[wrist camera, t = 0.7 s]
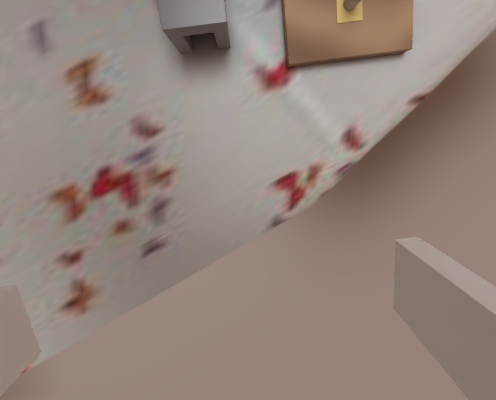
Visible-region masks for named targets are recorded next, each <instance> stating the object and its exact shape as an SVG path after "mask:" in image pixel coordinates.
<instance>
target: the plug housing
mask: <svg viewBox="0 0 496 400" xmlns="http://www.w3.org/2000/svg"><path fill="white" fill-rule="evenodd" d="M157 3H158V9H159V15H160V20H161V26H162V30H163V31H164V33H165V34H166V35H167V37H168V38H169V39H170V40H171V42H172V43H173V44H174V45H175V47H176V48H177V49H178V50H179V52H180V53H181V54H184V53H192V52H193V49H192V42H191V36H190V35H197V34H205V33H213V32H214V35H215V39H216V42H217V45H218V49H224V48H230V40H229V32H228V24H227V16H226V8H225V0H157Z"/></svg>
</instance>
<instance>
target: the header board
mask: <svg viewBox="0 0 496 400" xmlns="http://www.w3.org/2000/svg"><path fill="white" fill-rule="evenodd" d="M281 1H282V13H283V26H284V38H285V51H286V63H287V67H295V66H303V65H311V64H319V63H327V62H335V61H343V60H351V59H359V58H367V57H375V56H383V55H391V54H399V53H404V52H406V51H409V50H411V49H412V32H413V0H281Z"/></svg>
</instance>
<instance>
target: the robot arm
mask: <svg viewBox="0 0 496 400" xmlns="http://www.w3.org/2000/svg"><path fill="white" fill-rule="evenodd" d="M394 275H395V276H394V310H395V311H396V312H397V313H398V315H399V316H400V317H401V318H402V319H403V321H404V322H405V323H406V324H407V325H408V327H409V328H410V329H411V330H412V331H413V333H414V334H415V335H416V336H417V338H418V339H419V340H420V341H421V342H422V344H423V345H424V346H425V347H426V348H427V350H428V351H429V352H430V353H431V355H432V356H433V357H434V358H435V359H436V361H437V362H438V363H439V364H440V365H441V367H442V368H443V369H444V370H445V371H446V373H447V374H448V375H449V376H450V377H451V379H452V380H453V381H454V382H455V383H456V385H457V386H458V387H459V388H460V389H461V391H462V392H463V393H464V394H465V396H466V397H467V398H468V399H469V400H496V287H495V286H494V285H492V284H491V283H489V282H487V281H486V280H484V279H482V278H481V277H480V276H478V275H476V274H475V273H473V272H472V271H470V270H468V269H467V268H465V267H464V266H462V265H461V264H459V263H457V262H456V261H454V260H453V259H451V258H450V257H448V256H446V255H445V254H443V253H442V252H440V251H439V250H437V249H435V248H434V247H432V246H431V245H429V244H428V243H426V242H424V241H423V240H421V239H420V238H418V237H414V238H406V239H397V240H395V274H394ZM40 352H41V350H40V347H39V344H38V342H37V339H36V336H35V334H34V331H33V328H32V326H31V323H30V321H29V318H28V315H27V313H26V310H25V307H24V305H23V302H22V299H21V297H20V294H19V291H18V289H17V286H9V287H1V288H0V397H1V395H2V394H3V393H4V392H5V391H6V390H7V389H8V388H9V386H10V385H11V384H12V383H13V382H14V381H15V380H16V379H17V377H18V376H19V375H20V374H21V373H22V372H23V371H24V370H25V368H26V367H27V366H28V365H29V364H30V363H31V362H32V361H33V359H34V358H35V357H36V356H37V355H38V354H39V353H40Z"/></svg>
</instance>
